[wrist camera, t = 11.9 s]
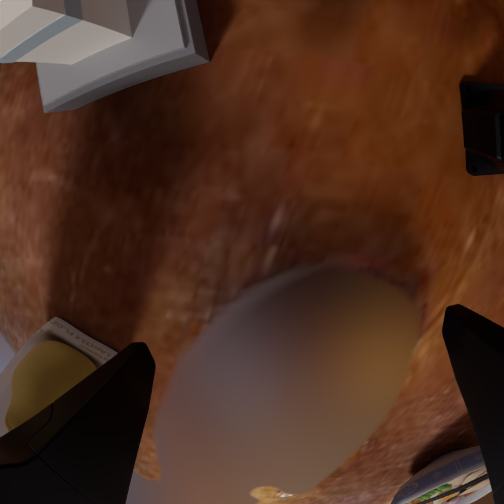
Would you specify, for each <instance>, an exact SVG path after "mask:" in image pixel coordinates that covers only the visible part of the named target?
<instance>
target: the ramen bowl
mask: <svg viewBox="0 0 504 504" xmlns="http://www.w3.org/2000/svg"><path fill="white" fill-rule="evenodd" d="M490 491H492V489H491V485H490V481H489V478H488V474H487V470H486V466H485V463H484V459H483V456H482V453H481V449H480V446H475V447H470V448H466V449H461V450H455V451H452V452H449V453H447V454H445V455H442V456H440V457H438V458H437V459H435V460H434V461H432V462H431V463H430V464H429V465H427V466H426V467H425V468H423V469H422V470H420V471H419V472H417V473H416V474H415V475H414V476H413V477H411V478H410V479H409V480H408V481H407V482H406V483H405V484H404V485H403V486H402V487H401V488H400V489H399V491H398V492H397V494H396V495H395V497H394V499H393V501H392V503H391V504H470V503H472V502H474V501H476V500H478V499H479V498H481V497H483V496H484V495H486V494H487V493H489V492H490Z"/></svg>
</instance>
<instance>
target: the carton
mask: <svg viewBox="0 0 504 504" xmlns="http://www.w3.org/2000/svg"><path fill="white" fill-rule="evenodd" d="M130 38H132V33H131V27H130V21H129V14H128V8H127V1H126V0H0V63H14V62H41V63H57V64H69V65H72V64H74V63H76V62H78V61H80V60H82V59H84V58H86V57H88V56H90V55H93V54H95V53H97V52H99V51H101V50H104V49H106V48H108V47H110V46H113V45H115V44H118V43H120V42H123V41H125V40H128V39H130Z"/></svg>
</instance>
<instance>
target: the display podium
mask: <svg viewBox="0 0 504 504" xmlns="http://www.w3.org/2000/svg"><path fill="white" fill-rule="evenodd" d="M126 1H127V8H128V14H129V21H130V27H131V33H132V38H130V39H128V40H125V41H123V42H120V43H118V44H115V45H113V46H110V47H108V48H106V49H104V50H101V51H99V52H97V53H95V54H93V55H90V56H88V57H86V58H84V59H82V60H80V61H78V62H76V63H74V64H72V65H69V64H57V63H41V62H36V68H37V75H38V81H39V87H40V93H41V99H42V104H43V109H44V113H51V112H58V111H66V110H75V109H77V108H80V107H82V106H84V105H86V104H89V103H91V102H93V101H96V100H98V99H100V98H103V97H105V96H108V95H110V94H113V93H115V92H118V91H120V90H123V89H126V88H128V87H131V86H134V85H136V84H139V83H142V82H145V81H148V80H151V79H154V78H157V77H160V76H163V75H166V74H170V73H173V72H176V71H180V70H183V69H187V68H190V67H194V66H197V65H201V64H205V63H209V62H210V60H209V56H208V51H207V46H206V42H205V37H204V33H203V28H202V23H201V19H200V14H199V10H198V5H197V0H126Z"/></svg>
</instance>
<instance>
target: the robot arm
mask: <svg viewBox="0 0 504 504" xmlns="http://www.w3.org/2000/svg"><path fill="white" fill-rule="evenodd" d="M466 86H467V87H468V92H467V91H466V89H465V87H466ZM460 95H461V102H462V122H463V135H464V147H465V149H466V170H467V172H468V173H469V174H470V175H473V176H479V175H492V174H504V85H502V84H492V83H481V82H468V81H466V82H462V83H461V84H460ZM473 165H474V170H473V171H472V166H473ZM442 335H443V339H444V342H445V345H446V348H447V351H448V355H449V358H450V362H451V365H452V369H453V372H454V375H455V378H456V381H457V384H458V386H459V389H460V391H461V394H462V397H463V399H464V402H465V405H466V407H467V410H468V413H469V416H470V419H471V421H472V424H473V427H474V430H475V433H476V436H477V440H478V443H479V446H480V449H481V453H482V456H483V459H484V463H485V466H486V470H487V474H488V478H489V481H490V485H491V489H492V493H493V498H494V503H495V504H504V327H502V326H500V325H498V324H496V323H494V322H492V321H491V320H489V319H487V318H485V317H483V316H481V315H479V314H478V313H476V312H474V311H472V310H470V309H468V308H466V307H464V306H462V305H460V304H456V305H451V306H448V307H447V308H446V311H445V316H444V321H443V327H442ZM155 369H156V365H155V361H154V359H153V357H152V355H151V352H150V350H149V348H148V346H147V345H146V343H144V342H133V343H131V344H130V345H128V346H127V347H126V348H124V349H123V350H122V351H120V352H119V353H118V354H116V355H115V356H114V357H112V358H111V359H110V360H108V361H107V362H106V363H104V364H103V365H102V366H100V367H99V368H98V369H96V370H95V371H94V372H92V373H91V374H90V375H88V376H87V377H86V378H84V379H83V380H82V381H80V382H79V383H78V384H76V385H75V386H74V387H72V388H71V389H70V390H68V391H67V392H66V393H64V394H63V395H62V396H60V397H59V398H58V399H56V400H55V401H54V403H53V402H52V403H51V404H49V405H48V406H47V407H45V408H44V409H43V410H41V411H40V412H39V413H37V414H36V415H34V416H33V417H31V418H30V419H28V420H27V421H25V422H24V423H22V424H21V425H19V426H17V427H16V428H14V429H13V430H11V431H9V432H8V433H6V434H5V435H3V436H1V437H0V504H125V503H126V499H127V494H128V490H129V486H130V481H131V477H132V473H133V469H134V465H135V461H136V457H137V453H138V449H139V445H140V441H141V437H142V433H143V429H144V426H145V422H146V418H147V414H148V410H149V405H150V400H151V393H152V387H153V381H154V375H155Z"/></svg>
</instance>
